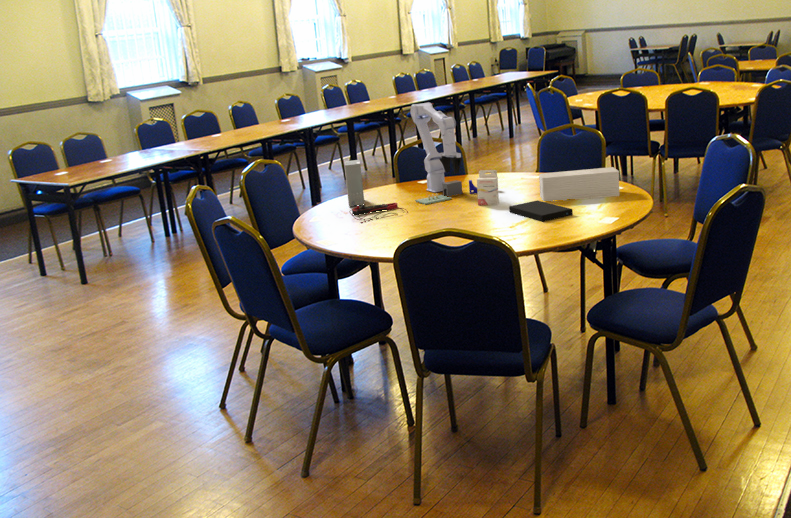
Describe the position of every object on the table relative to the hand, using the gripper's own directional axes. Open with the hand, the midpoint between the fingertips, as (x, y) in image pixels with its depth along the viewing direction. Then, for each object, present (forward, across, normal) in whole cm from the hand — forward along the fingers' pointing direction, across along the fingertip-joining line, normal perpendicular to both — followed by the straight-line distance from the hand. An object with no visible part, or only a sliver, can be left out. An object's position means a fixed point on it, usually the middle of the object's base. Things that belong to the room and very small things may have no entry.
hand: (452, 172), depth 340 cm
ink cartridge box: (+12, +30, -2) cm, 32 cm away
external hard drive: (+14, +62, -1) cm, 64 cm away
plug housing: (+11, -2, 0) cm, 11 cm away
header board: (+11, +2, -13) cm, 17 cm away
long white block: (+14, +52, +30) cm, 61 cm away
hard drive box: (+10, -26, -39) cm, 48 cm away
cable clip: (+11, +6, +12) cm, 18 cm away
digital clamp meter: (+12, +4, -44) cm, 46 cm away
